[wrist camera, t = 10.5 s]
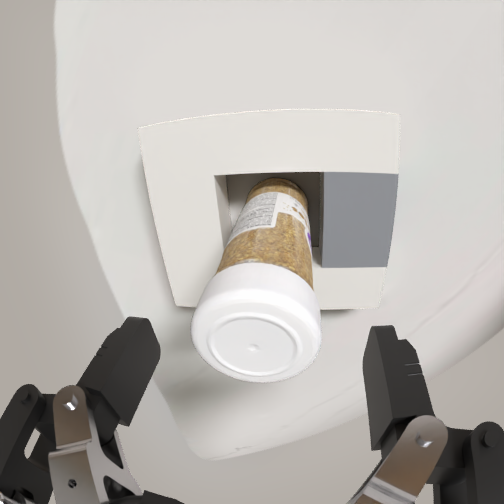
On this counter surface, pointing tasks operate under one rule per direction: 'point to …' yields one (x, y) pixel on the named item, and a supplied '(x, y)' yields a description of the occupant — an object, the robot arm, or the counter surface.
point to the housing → (268, 161)
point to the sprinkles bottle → (262, 292)
